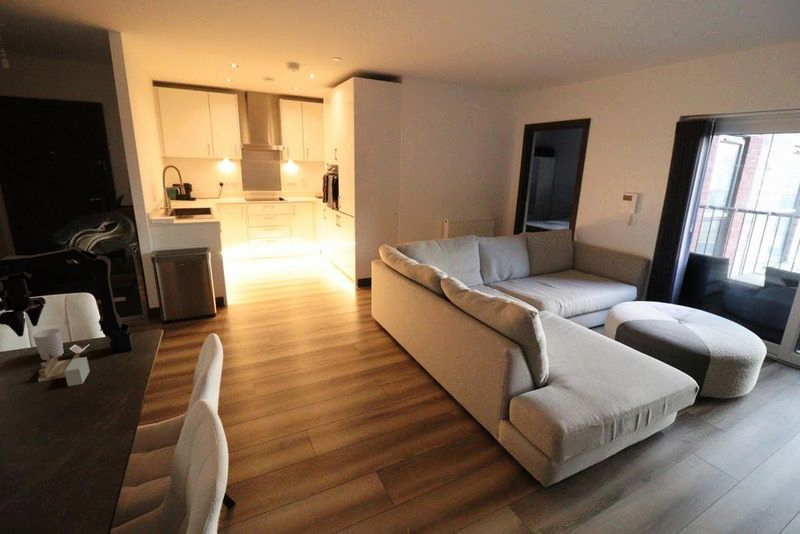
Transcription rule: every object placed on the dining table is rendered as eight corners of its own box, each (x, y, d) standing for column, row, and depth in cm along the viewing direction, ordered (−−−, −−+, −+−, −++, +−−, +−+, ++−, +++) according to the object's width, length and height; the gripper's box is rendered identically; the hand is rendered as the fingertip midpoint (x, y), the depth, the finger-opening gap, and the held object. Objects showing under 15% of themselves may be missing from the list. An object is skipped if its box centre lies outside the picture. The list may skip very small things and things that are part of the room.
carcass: (84, 359, 146) (80, 346, 144) (74, 375, 135) (71, 360, 134) (51, 365, 141) (47, 351, 140) (38, 381, 131) (34, 366, 129)
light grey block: (89, 371, 138) (86, 356, 137) (82, 383, 131) (79, 368, 129) (75, 373, 137) (72, 359, 135) (67, 386, 129) (63, 371, 127)
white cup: (44, 353, 150) (38, 330, 147) (68, 349, 153) (63, 327, 150) (35, 362, 143) (29, 338, 140) (61, 358, 146) (55, 335, 144)
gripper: (3, 285, 139) (15, 323, 143) (-32, 303, 122) (-18, 345, 126) (41, 282, 143) (51, 320, 147) (11, 299, 126) (24, 341, 130)
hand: (28, 331), depth 137 cm, fingers open, 9 cm apart
